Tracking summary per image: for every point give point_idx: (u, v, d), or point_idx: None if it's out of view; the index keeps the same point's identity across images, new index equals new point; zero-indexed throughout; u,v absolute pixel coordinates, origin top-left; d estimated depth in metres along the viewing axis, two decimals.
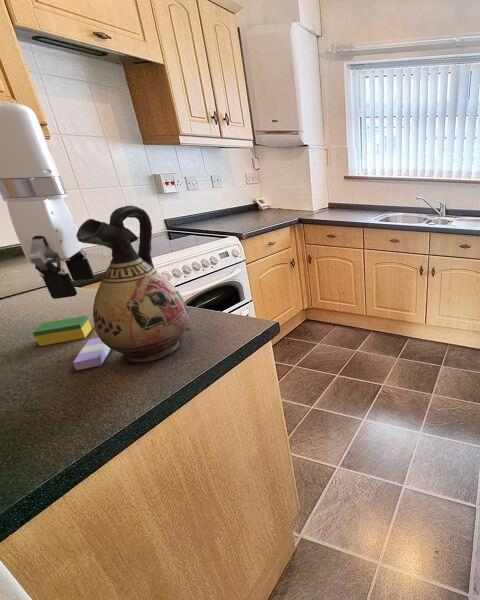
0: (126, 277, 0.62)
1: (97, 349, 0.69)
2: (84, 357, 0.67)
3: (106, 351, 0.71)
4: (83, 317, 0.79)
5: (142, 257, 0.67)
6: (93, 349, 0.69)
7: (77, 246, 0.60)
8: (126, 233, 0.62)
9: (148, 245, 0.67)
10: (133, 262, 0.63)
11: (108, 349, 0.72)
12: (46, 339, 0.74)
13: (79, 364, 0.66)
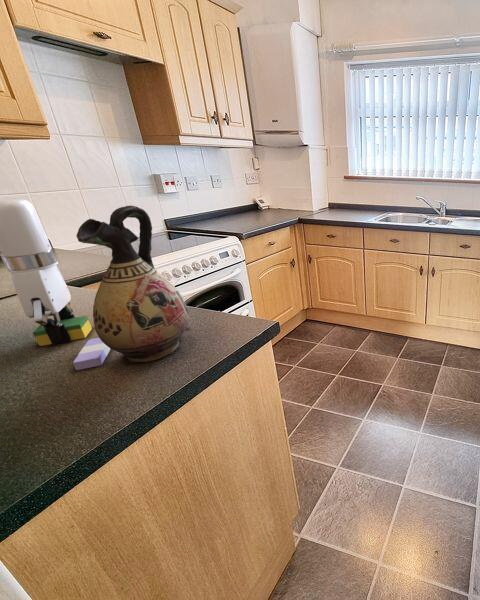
0: (126, 277, 0.62)
1: (97, 349, 0.69)
2: (84, 357, 0.67)
3: (106, 351, 0.71)
4: (83, 317, 0.79)
5: (142, 257, 0.67)
6: (93, 349, 0.69)
7: (66, 300, 0.76)
8: (126, 233, 0.62)
9: (148, 245, 0.67)
10: (133, 262, 0.63)
11: (108, 349, 0.72)
12: (46, 339, 0.74)
13: (79, 364, 0.66)
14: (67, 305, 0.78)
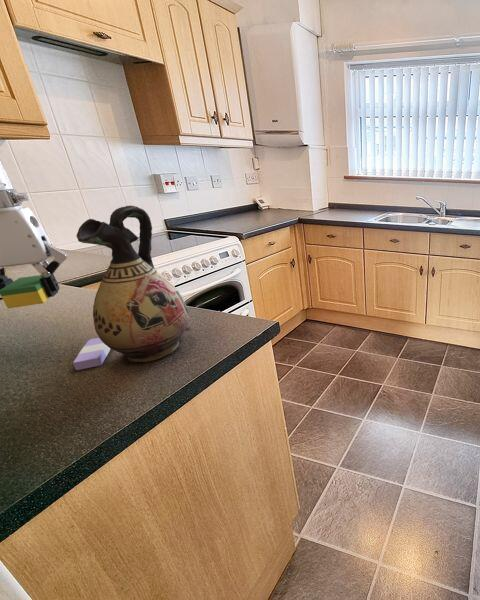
0: (126, 277, 0.62)
1: (97, 349, 0.69)
2: (84, 357, 0.67)
3: (106, 351, 0.71)
4: (29, 286, 0.62)
5: (142, 257, 0.67)
6: (93, 349, 0.69)
7: (18, 259, 0.61)
8: (126, 233, 0.62)
9: (148, 245, 0.67)
10: (133, 262, 0.63)
11: (108, 349, 0.72)
12: None
13: (79, 364, 0.66)
14: (36, 266, 0.64)
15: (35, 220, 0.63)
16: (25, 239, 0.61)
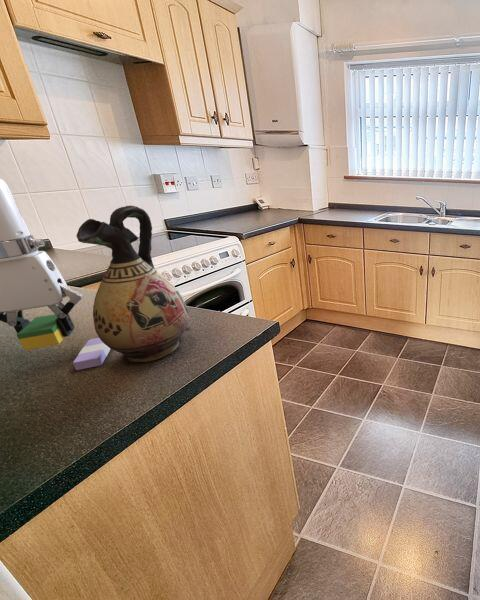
0: (126, 277, 0.62)
1: (97, 349, 0.69)
2: (84, 357, 0.67)
3: (106, 351, 0.71)
4: (46, 328, 0.64)
5: (142, 257, 0.67)
6: (93, 349, 0.69)
7: (35, 302, 0.63)
8: (126, 233, 0.62)
9: (148, 245, 0.67)
10: (133, 262, 0.63)
11: (108, 349, 0.72)
12: None
13: (79, 364, 0.66)
14: (52, 308, 0.65)
15: (51, 263, 0.64)
16: (42, 283, 0.62)
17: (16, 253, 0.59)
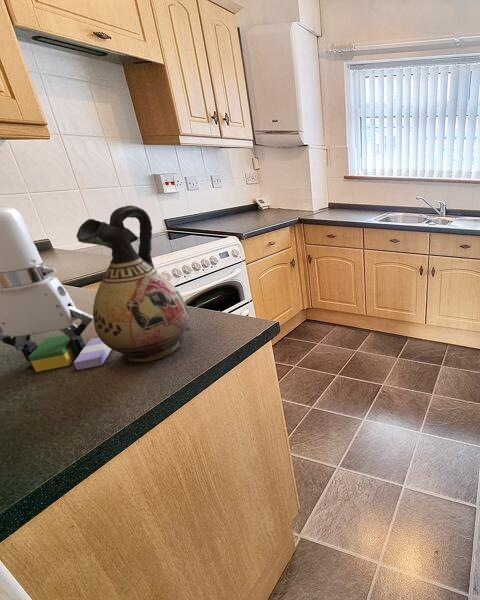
0: (126, 277, 0.62)
1: (98, 349, 0.69)
2: (84, 356, 0.67)
3: (107, 351, 0.71)
4: (56, 350, 0.66)
5: (142, 257, 0.67)
6: (94, 349, 0.69)
7: (46, 327, 0.65)
8: (126, 233, 0.62)
9: (148, 245, 0.67)
10: (133, 262, 0.63)
11: (109, 349, 0.72)
12: None
13: (80, 363, 0.66)
14: (65, 330, 0.67)
15: (61, 288, 0.66)
16: (53, 309, 0.64)
17: (29, 281, 0.61)
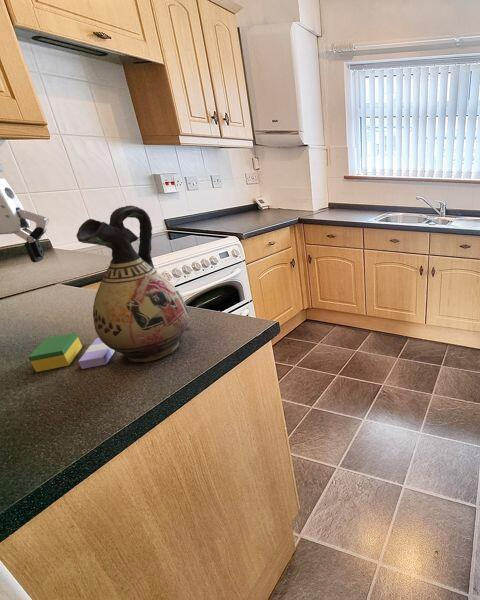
0: (126, 277, 0.62)
1: (103, 348, 0.70)
2: (89, 355, 0.67)
3: (112, 350, 0.71)
4: (56, 350, 0.66)
5: (142, 257, 0.67)
6: (99, 348, 0.70)
7: None
8: (126, 233, 0.62)
9: (148, 245, 0.67)
10: (133, 262, 0.63)
11: None
12: None
13: (85, 362, 0.66)
14: (21, 230, 0.65)
15: (10, 191, 0.64)
16: None
17: None
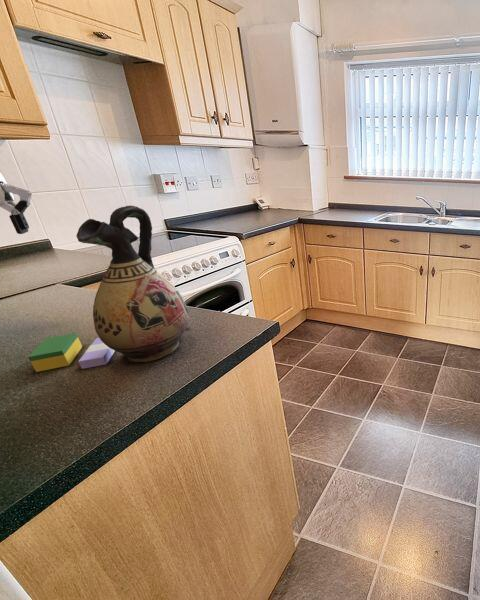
0: (126, 277, 0.62)
1: (103, 348, 0.70)
2: (89, 355, 0.67)
3: (112, 350, 0.71)
4: (57, 350, 0.66)
5: (142, 257, 0.67)
6: (99, 348, 0.70)
7: None
8: (126, 233, 0.62)
9: (148, 245, 0.67)
10: (133, 262, 0.63)
11: None
12: None
13: (85, 362, 0.66)
14: (5, 203, 0.69)
15: None
16: None
17: None
